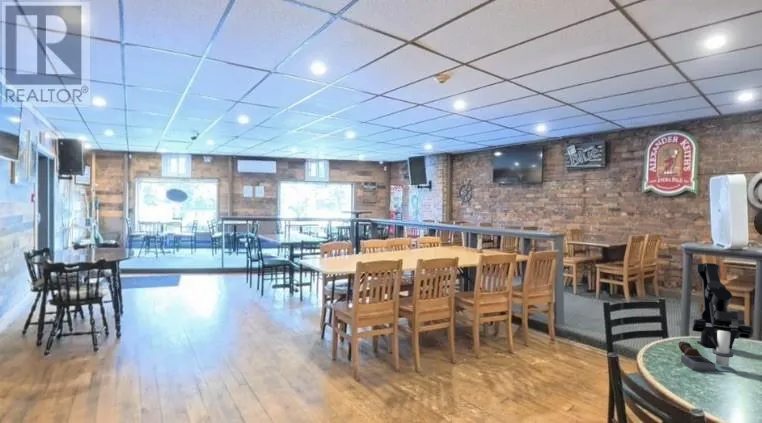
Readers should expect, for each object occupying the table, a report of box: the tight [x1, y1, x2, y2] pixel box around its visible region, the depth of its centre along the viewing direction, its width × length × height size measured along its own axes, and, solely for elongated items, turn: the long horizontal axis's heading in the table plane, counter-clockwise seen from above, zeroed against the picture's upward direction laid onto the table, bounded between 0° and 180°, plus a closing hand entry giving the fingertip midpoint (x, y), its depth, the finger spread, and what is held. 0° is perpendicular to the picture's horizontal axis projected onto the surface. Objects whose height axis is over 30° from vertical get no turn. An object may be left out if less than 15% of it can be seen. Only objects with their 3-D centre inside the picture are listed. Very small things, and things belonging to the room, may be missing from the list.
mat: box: [714, 363, 739, 373], centre depth 166 cm, size 7×7×1 cm
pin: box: [712, 330, 734, 366], centre depth 166 cm, size 6×6×13 cm
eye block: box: [680, 354, 716, 373], centre depth 167 cm, size 8×8×3 cm
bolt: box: [678, 340, 702, 356], centre depth 180 cm, size 6×5×15 cm
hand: (723, 347), depth 165 cm, fingers closed on pin, 4 cm apart
